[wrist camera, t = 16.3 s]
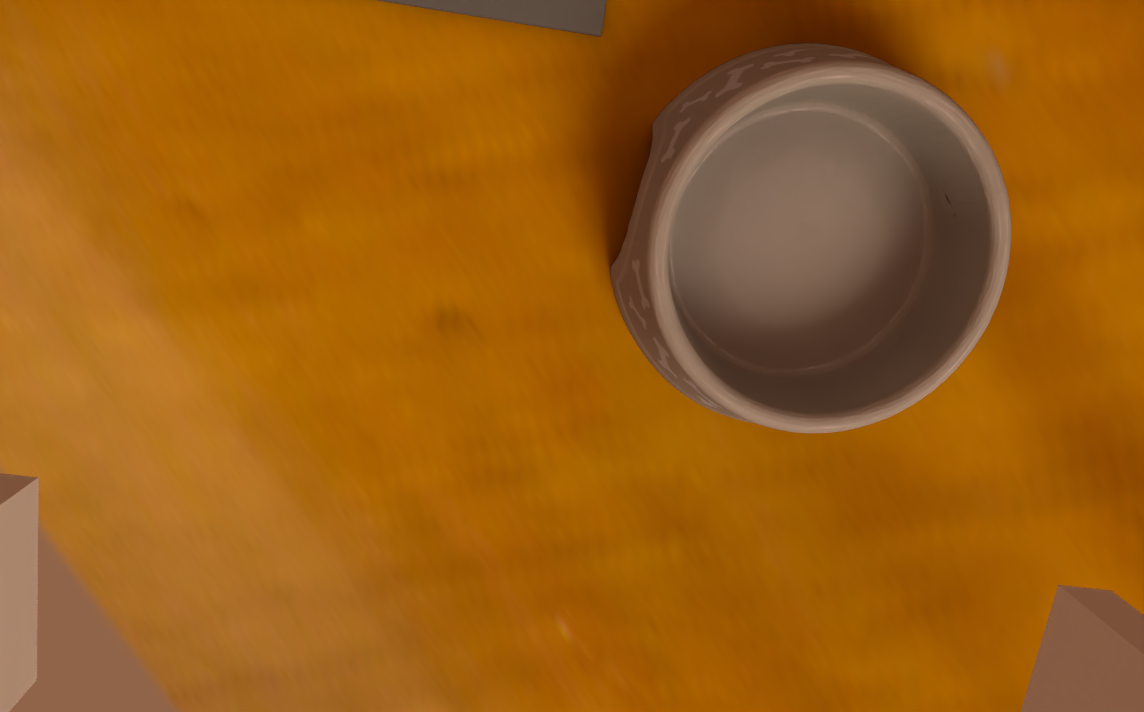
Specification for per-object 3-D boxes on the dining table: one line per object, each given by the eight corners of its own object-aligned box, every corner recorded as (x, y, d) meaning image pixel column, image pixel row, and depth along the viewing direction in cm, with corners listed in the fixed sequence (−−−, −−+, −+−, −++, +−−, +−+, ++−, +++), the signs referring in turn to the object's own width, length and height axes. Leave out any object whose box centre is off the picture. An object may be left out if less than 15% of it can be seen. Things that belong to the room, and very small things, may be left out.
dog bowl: (1022, 102, 42) (1095, 97, 37) (891, 456, 46) (940, 496, 41) (682, -3, 40) (709, -24, 35) (575, 378, 44) (584, 410, 39)
